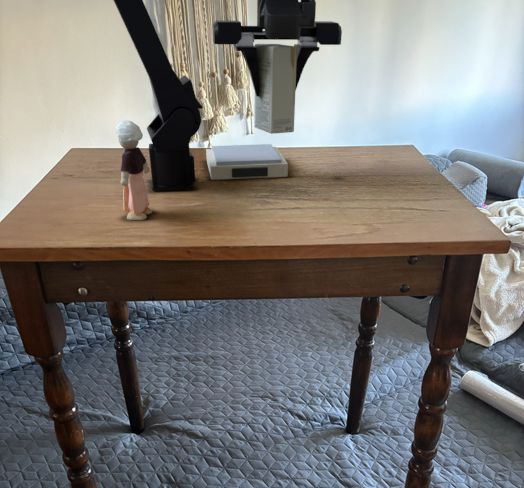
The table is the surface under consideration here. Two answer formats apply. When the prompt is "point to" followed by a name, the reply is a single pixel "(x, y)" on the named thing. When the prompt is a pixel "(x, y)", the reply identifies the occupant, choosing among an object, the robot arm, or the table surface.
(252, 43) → the robot arm
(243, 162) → the scale
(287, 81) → the cosmetic box
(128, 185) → the grandmother figurine
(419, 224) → the table surface
